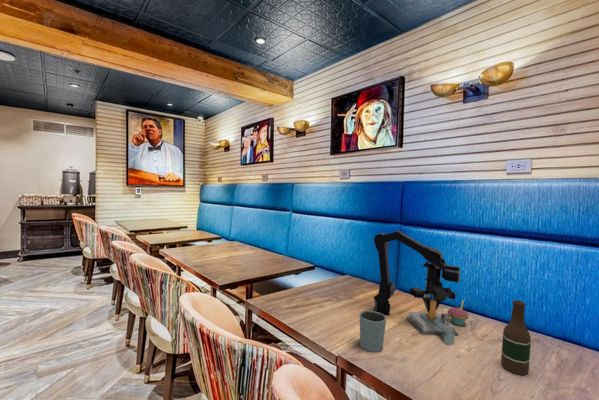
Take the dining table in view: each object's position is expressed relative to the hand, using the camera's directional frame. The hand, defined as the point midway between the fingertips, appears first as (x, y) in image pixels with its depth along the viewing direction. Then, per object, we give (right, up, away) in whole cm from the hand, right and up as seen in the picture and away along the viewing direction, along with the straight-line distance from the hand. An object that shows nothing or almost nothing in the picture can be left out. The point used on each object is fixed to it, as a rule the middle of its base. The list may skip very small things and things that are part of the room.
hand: (431, 311), depth 130 cm
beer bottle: (+15, -9, -30) cm, 35 cm away
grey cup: (-32, -6, -19) cm, 38 cm away
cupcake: (+15, -8, +5) cm, 17 cm away
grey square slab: (0, -7, -4) cm, 8 cm away
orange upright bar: (0, -3, 0) cm, 3 cm away
